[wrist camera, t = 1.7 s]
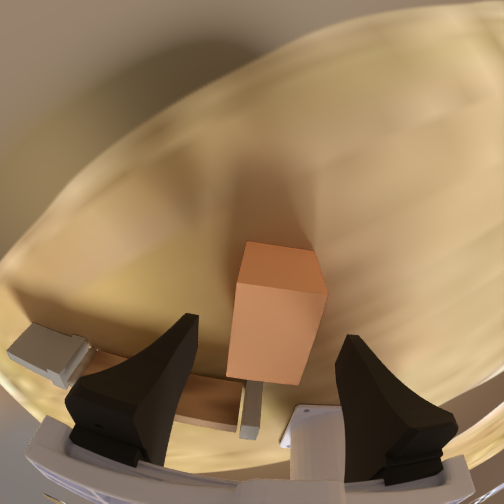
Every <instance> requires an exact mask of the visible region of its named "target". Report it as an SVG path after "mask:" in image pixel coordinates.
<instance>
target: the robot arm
mask: <svg viewBox="0 0 504 504" xmlns="http://www.w3.org/2000/svg"><path fill="white" fill-rule="evenodd" d="M198 323H199V315H195V314H189V313H186V314H184V315H183V316H182V317H181V318H180V319H179V320H178V321H177V322H176V323H175V324H174V325H173V326H172V327H171V328H170V329H169V330H168V331H167V332H165V333H164V334H163V335H162V336H161V337H160V338H159V339H157V340H156V341H155V342H153V343H152V344H151V345H150V346H148V347H147V348H145V349H144V350H142V351H141V352H139V353H138V354H136V355H135V356H133V357H131V358H129V359H128V360H126V361H124V362H122V363H120V364H118V365H115V366H113V367H111V368H108V369H105V370H103V371H100V372H97V373H93V374H89V375H86V376H82V377H79V379H78V380H77V381H76V382H75V384H74V385H73V387H72V388H71V390H70V392H69V393H68V395H67V396H66V398H65V405H66V408H67V410H68V412H69V413H70V415H71V417H72V419H73V420H74V422H75V426H74V428H73V429H72V428H70V427H69V426H68V425H66V424H64V423H62V422H60V421H58V420H56V419H54V418H52V417H50V416H48V415H46V417H45V418H44V420H43V422H42V423H41V425H40V427H39V428H38V430H37V432H36V433H35V435H34V437H33V438H32V440H31V442H30V444H29V445H28V447H27V449H26V451H25V453H24V456H25V457H26V458H27V459H28V460H29V461H30V462H31V463H32V464H33V465H34V466H35V467H36V468H37V469H38V470H39V471H40V472H41V473H43V474H44V475H45V476H46V477H47V478H48V479H50V480H52V481H54V482H55V483H57V484H59V485H61V486H63V487H65V488H66V489H68V490H70V491H72V492H74V493H76V494H78V495H80V496H82V497H84V498H86V499H88V500H90V501H92V502H94V503H96V504H458V503H460V502H461V501H463V500H464V499H466V498H468V497H469V496H471V495H472V494H474V493H475V488H474V485H473V482H472V479H471V475H470V472H469V469H468V466H467V463H466V461H465V458H464V455H459V456H455V457H452V458H449V459H446V460H444V461H442V462H441V458H440V457H442V456H443V452H442V448H443V447H444V446H445V445H446V444H447V443H448V442H449V441H450V440H451V439H452V438H453V437H454V436H455V435H456V433H457V431H458V425H457V423H456V420H455V418H454V416H453V414H452V413H450V412H448V411H446V410H443V409H441V408H439V407H437V406H435V405H433V404H432V403H430V402H428V401H426V400H425V399H423V398H422V397H420V396H419V395H417V394H416V393H415V392H413V391H412V390H410V389H409V388H408V387H407V386H405V385H404V384H403V383H402V382H401V381H400V380H399V379H397V378H396V377H395V376H394V375H393V374H392V373H391V372H390V371H389V370H388V369H387V368H386V367H385V365H384V364H383V363H382V362H381V361H380V360H379V359H378V358H377V356H376V355H375V354H374V353H373V352H372V351H371V349H370V348H369V347H368V346H367V345H366V343H365V342H364V341H363V340H362V339H361V338H360V337H359V335H348V334H347V336H346V338H345V341H344V343H343V346H342V348H341V351H340V353H339V355H338V358H337V360H336V363H335V373H336V383H337V388H338V393H339V398H340V403H341V406H325V405H305V404H300V405H298V406H296V407H295V410H294V412H293V415H292V417H291V419H290V421H289V424H288V426H287V428H286V431H285V433H284V435H283V437H282V439H281V442H280V447H282V448H290V468H291V469H290V480H285V479H250V480H244V481H243V482H242V481H234V480H226V479H219V478H213V477H207V476H202V475H196V474H192V473H187V472H182V471H178V470H174V469H170V468H166V467H164V462H165V456H166V451H167V447H168V442H169V437H170V433H171V429H172V425H173V421H174V417H175V413H176V409H177V406H178V403H179V400H180V397H181V394H182V392H183V389H184V387H185V384H186V382H187V379H188V377H189V374H190V372H191V369H192V367H193V364H194V360H195V356H196V352H197V348H198Z"/></svg>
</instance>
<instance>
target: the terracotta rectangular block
mask: <svg viewBox="0 0 504 504" xmlns="http://www.w3.org/2000/svg"><path fill="white" fill-rule="evenodd" d="M327 298H328V292H327V289H326V286H325V282H324V279H323V276H322V273H321V269H320V266H319V263H318V260H317V257H316V253H315V251H310V250H304V249H297V248H291V247H284V246H277V245H270V244H264V243H257V242H250V241H247V243H246V247H245V251H244V255H243V259H242V263H241V267H240V272H239V276H238V280H237V285H236V294H235V302H234V311H233V319H232V328H231V336H230V345H229V354H228V363H227V372H226V376H227V377H233V378H240V379H247V380H254V381H262V382H271V383H280V384H290V385H299V382H300V379H301V377H302V374H303V371H304V368H305V365H306V363H307V360H308V357H309V354H310V351H311V348H312V345H313V342H314V339H315V336H316V333H317V330H318V327H319V324H320V321H321V318H322V314H323V311H324V308H325V305H326V301H327Z"/></svg>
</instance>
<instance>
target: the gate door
mask: <svg viewBox="0 0 504 504" xmlns="http://www.w3.org/2000/svg"><path fill="white" fill-rule="evenodd" d="M126 360H128V359H127V358H124V357H120V356H117V355H114V354H110V353H107V352H104V351H101V350H98V351H97V350H96V349H94V348H90V349H89V350H88V352H87V353H86V354H85V356H84V357H83V359H82V360H81V361H80V363H79V364H78V366H77V367H76V369H75V370H74V371H73V373H72V374H71V376H70V377H69V379H68V380H67V383H68V384H69V385H70V386H71V387H73V385H74V384H75V382H76V381H77V380H78V379H79V377H82V376H86V375H89V374H93V373H97V372H100V371H103V370H105V369H108V368H111V367H113V366H115V365H118V364H120V363H122V362H124V361H126ZM242 386H243V383H240V382H234V381H227V380H221V379H215V378H210V377H204V376H199V375H194V374H189V377H188V379H187V382H186V384H185V387H184V389H183V392H182V394H181V397H180V400H179V403H178V406H177V409H176V413H175V417H174V421H177V422H181V423H186V424H190V425H195V426H200V427H205V428H211V429H217V430H223V431H229V432H236V429H237V423H238V416H239V408H240V401H241V393H242Z"/></svg>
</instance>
